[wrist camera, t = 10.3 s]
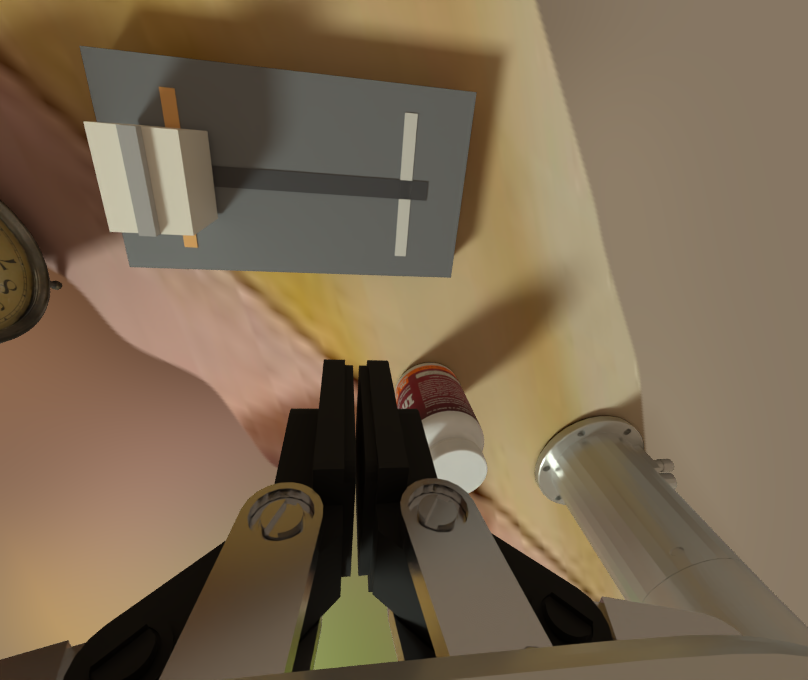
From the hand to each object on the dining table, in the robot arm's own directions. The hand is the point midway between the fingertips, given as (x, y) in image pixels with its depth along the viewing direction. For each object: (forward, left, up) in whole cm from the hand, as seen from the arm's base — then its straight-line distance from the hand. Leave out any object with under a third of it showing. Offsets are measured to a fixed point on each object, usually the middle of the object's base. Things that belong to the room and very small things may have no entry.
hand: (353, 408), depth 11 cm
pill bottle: (-8, +14, -23) cm, 28 cm away
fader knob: (+10, -4, -19) cm, 22 cm away
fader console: (+3, -4, -22) cm, 23 cm away
